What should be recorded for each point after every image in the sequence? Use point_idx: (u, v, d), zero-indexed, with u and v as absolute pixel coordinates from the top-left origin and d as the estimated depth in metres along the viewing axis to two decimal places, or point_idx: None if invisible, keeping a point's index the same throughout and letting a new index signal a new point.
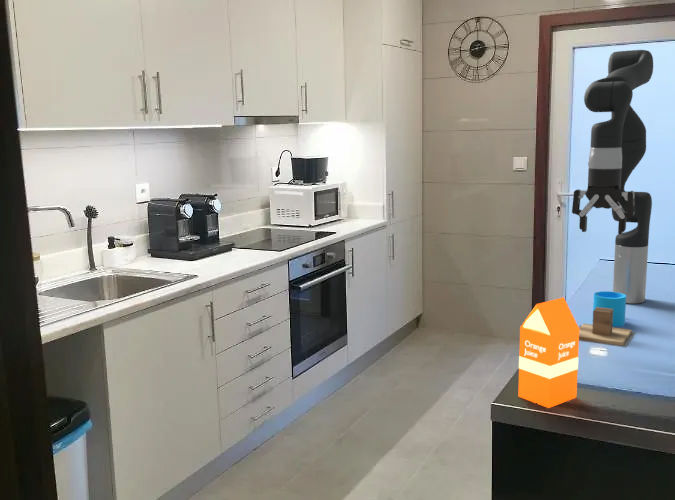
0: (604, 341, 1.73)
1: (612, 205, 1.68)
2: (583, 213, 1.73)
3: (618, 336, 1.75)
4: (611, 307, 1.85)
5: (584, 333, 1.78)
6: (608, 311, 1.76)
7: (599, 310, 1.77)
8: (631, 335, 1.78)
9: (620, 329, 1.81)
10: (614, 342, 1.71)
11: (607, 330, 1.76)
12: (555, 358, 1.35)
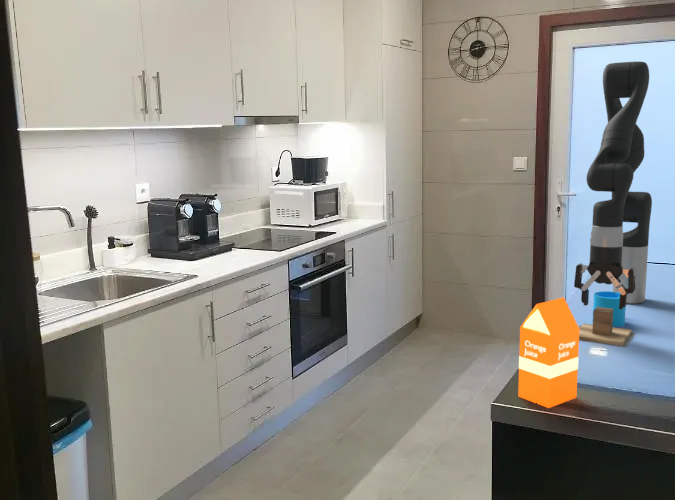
0: (604, 341, 1.73)
1: (613, 281, 1.73)
2: (585, 287, 1.77)
3: (618, 336, 1.75)
4: (611, 307, 1.85)
5: (584, 333, 1.78)
6: (608, 311, 1.76)
7: (599, 310, 1.77)
8: (631, 335, 1.78)
9: (620, 329, 1.81)
10: (614, 342, 1.71)
11: (607, 330, 1.76)
12: (555, 358, 1.35)
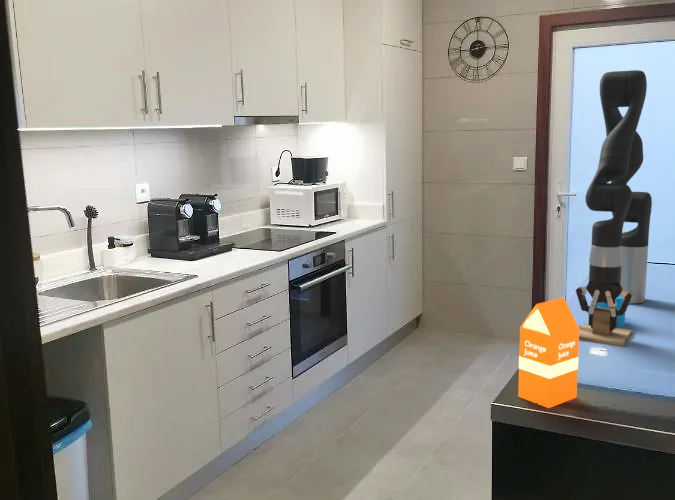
0: (604, 341, 1.73)
1: (609, 302, 1.75)
2: (592, 311, 1.78)
3: (618, 336, 1.75)
4: None
5: (584, 333, 1.78)
6: (608, 311, 1.76)
7: (599, 310, 1.77)
8: (631, 335, 1.78)
9: (620, 329, 1.81)
10: (614, 342, 1.71)
11: (607, 330, 1.76)
12: (555, 358, 1.35)
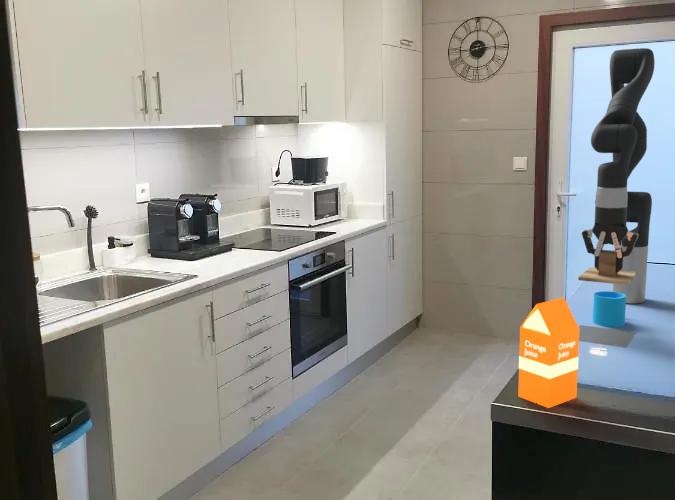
0: (610, 281, 1.74)
1: (614, 243, 1.76)
2: (598, 253, 1.79)
3: (624, 277, 1.77)
4: (611, 307, 1.85)
5: (590, 275, 1.80)
6: (614, 252, 1.77)
7: (605, 252, 1.78)
8: (631, 335, 1.78)
9: (625, 271, 1.83)
10: (620, 282, 1.73)
11: (613, 271, 1.77)
12: (555, 358, 1.35)
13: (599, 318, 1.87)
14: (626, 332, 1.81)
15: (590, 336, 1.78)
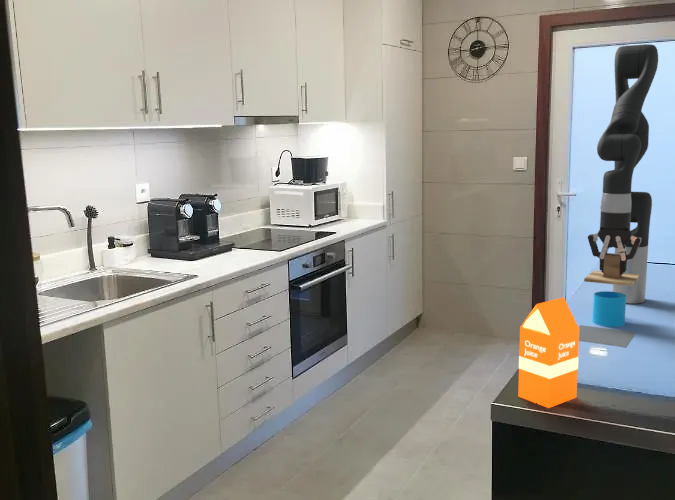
0: (614, 283, 1.83)
1: (619, 246, 1.86)
2: (603, 256, 1.89)
3: (628, 278, 1.86)
4: (611, 307, 1.85)
5: (595, 277, 1.89)
6: (618, 255, 1.87)
7: (610, 255, 1.88)
8: (631, 335, 1.78)
9: (629, 274, 1.92)
10: (624, 283, 1.82)
11: (617, 273, 1.87)
12: (555, 358, 1.35)
13: (599, 318, 1.87)
14: (626, 332, 1.81)
15: (590, 336, 1.78)
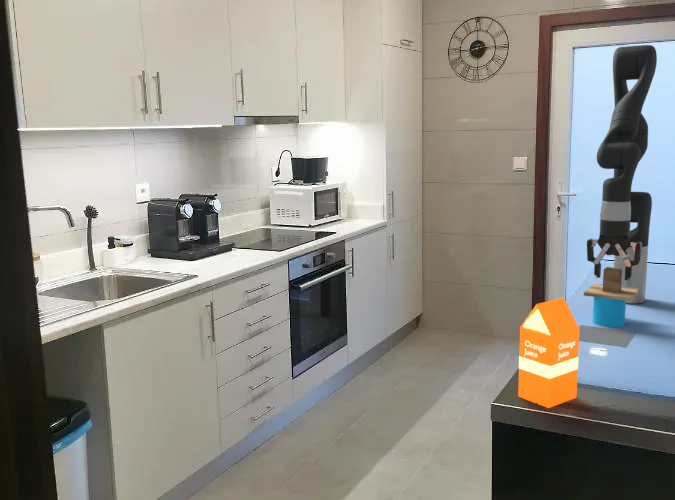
0: (614, 297, 1.84)
1: (621, 253, 1.86)
2: (597, 261, 1.90)
3: (627, 293, 1.87)
4: (611, 307, 1.85)
5: (595, 291, 1.90)
6: (617, 270, 1.87)
7: (609, 269, 1.88)
8: (631, 335, 1.78)
9: (628, 288, 1.92)
10: (623, 298, 1.83)
11: (616, 287, 1.87)
12: (555, 359, 1.35)
13: (599, 318, 1.87)
14: (626, 332, 1.81)
15: (590, 336, 1.78)
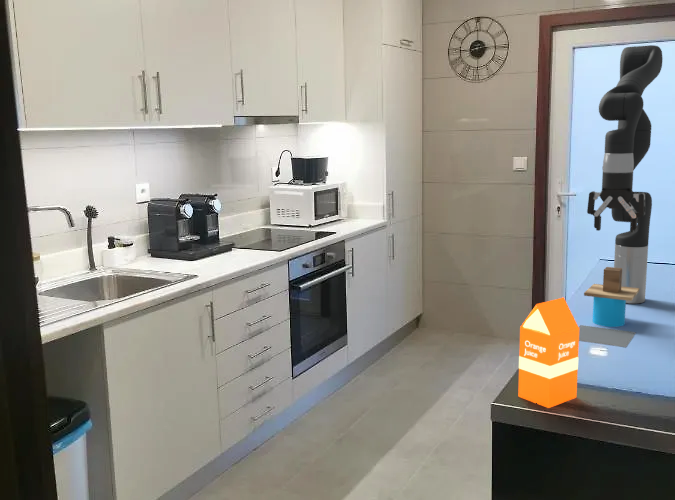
0: (614, 297, 1.84)
1: (624, 206, 1.83)
2: (597, 213, 1.88)
3: (627, 293, 1.87)
4: (611, 307, 1.85)
5: (595, 291, 1.90)
6: (618, 270, 1.87)
7: (609, 269, 1.89)
8: (631, 335, 1.78)
9: (628, 287, 1.93)
10: (624, 298, 1.83)
11: (617, 287, 1.87)
12: (555, 358, 1.35)
13: (599, 318, 1.87)
14: (626, 332, 1.81)
15: (590, 336, 1.78)
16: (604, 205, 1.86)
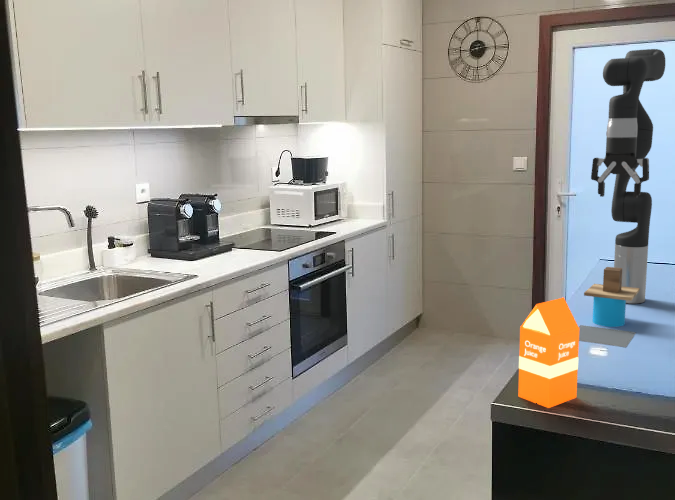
0: (614, 297, 1.84)
1: (628, 171, 1.84)
2: (601, 179, 1.89)
3: (627, 293, 1.87)
4: (611, 307, 1.85)
5: (595, 291, 1.90)
6: (618, 270, 1.88)
7: (609, 269, 1.89)
8: (631, 335, 1.78)
9: (628, 287, 1.93)
10: (623, 298, 1.83)
11: (617, 287, 1.88)
12: (555, 359, 1.35)
13: (599, 318, 1.87)
14: (626, 332, 1.81)
15: (590, 336, 1.78)
16: (608, 171, 1.87)
